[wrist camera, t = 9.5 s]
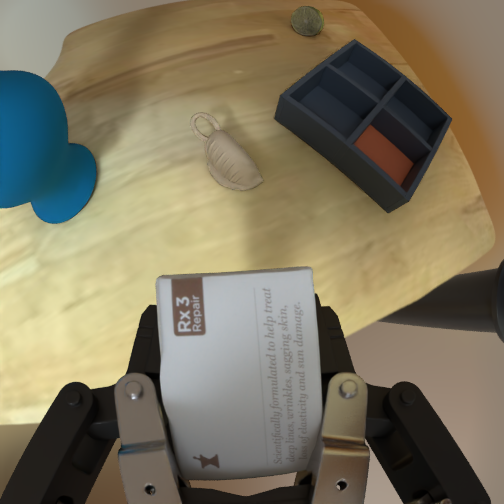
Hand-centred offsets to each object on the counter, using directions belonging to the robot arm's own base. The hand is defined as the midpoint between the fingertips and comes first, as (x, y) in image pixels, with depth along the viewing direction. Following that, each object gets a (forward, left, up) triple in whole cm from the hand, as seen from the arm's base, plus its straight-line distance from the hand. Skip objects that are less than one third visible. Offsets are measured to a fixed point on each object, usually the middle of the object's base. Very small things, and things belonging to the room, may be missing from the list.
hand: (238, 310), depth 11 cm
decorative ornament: (+10, -11, -17) cm, 23 cm away
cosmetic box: (-1, +1, -8) cm, 8 cm away
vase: (+24, +3, -17) cm, 30 cm away
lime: (+18, -37, -17) cm, 44 cm away
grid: (+1, -27, -17) cm, 32 cm away
